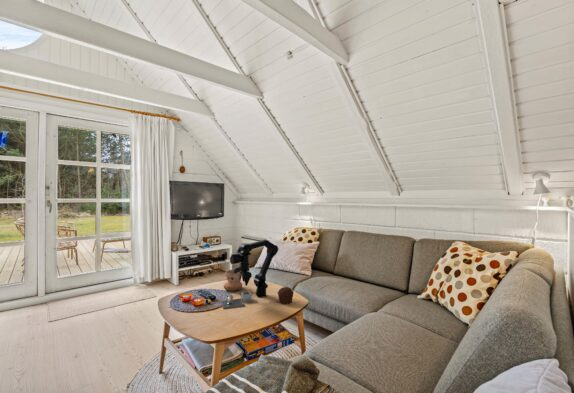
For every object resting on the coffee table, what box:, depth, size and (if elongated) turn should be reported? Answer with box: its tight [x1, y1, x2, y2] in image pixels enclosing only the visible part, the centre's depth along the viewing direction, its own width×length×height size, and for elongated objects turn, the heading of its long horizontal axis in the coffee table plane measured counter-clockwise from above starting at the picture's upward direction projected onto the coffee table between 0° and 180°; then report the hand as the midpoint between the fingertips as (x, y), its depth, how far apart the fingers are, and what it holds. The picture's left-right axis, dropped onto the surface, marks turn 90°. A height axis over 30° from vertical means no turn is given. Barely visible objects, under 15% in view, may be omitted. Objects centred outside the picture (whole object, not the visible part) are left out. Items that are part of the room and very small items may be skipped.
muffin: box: [277, 286, 294, 305], centre depth 201 cm, size 12×11×10 cm
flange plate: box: [220, 296, 245, 310], centre depth 197 cm, size 14×12×5 cm
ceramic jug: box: [223, 269, 243, 292], centre depth 227 cm, size 18×14×14 cm
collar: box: [240, 290, 252, 303], centre depth 204 cm, size 6×6×5 cm
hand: (245, 283), depth 204 cm, fingers open, 9 cm apart
